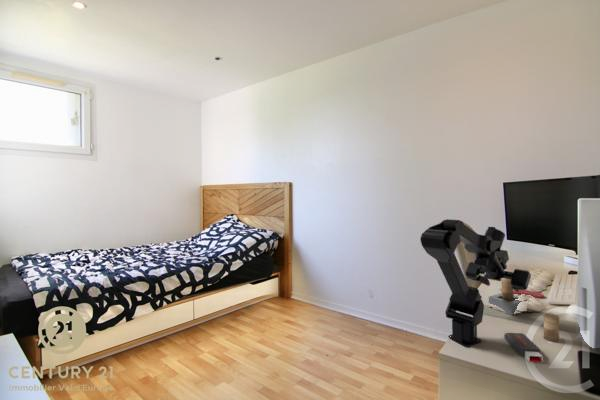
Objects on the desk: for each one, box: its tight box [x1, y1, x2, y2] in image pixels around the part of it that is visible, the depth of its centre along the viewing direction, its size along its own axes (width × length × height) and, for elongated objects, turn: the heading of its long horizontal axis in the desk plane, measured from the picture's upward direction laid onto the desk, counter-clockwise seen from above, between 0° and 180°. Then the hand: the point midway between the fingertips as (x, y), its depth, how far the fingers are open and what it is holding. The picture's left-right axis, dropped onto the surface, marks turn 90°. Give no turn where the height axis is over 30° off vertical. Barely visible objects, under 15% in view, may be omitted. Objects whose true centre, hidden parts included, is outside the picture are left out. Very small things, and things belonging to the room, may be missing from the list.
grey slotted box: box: [488, 292, 528, 316], centre depth 112 cm, size 8×8×4 cm
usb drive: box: [503, 332, 544, 363], centre depth 86 cm, size 5×12×3 cm, turn 168°
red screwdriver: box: [499, 288, 545, 300], centre depth 125 cm, size 4×2×15 cm
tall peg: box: [501, 278, 515, 302], centre depth 112 cm, size 4×4×13 cm
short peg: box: [543, 312, 560, 343], centre depth 90 cm, size 4×4×7 cm
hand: (503, 287), depth 109 cm, fingers open, 9 cm apart
